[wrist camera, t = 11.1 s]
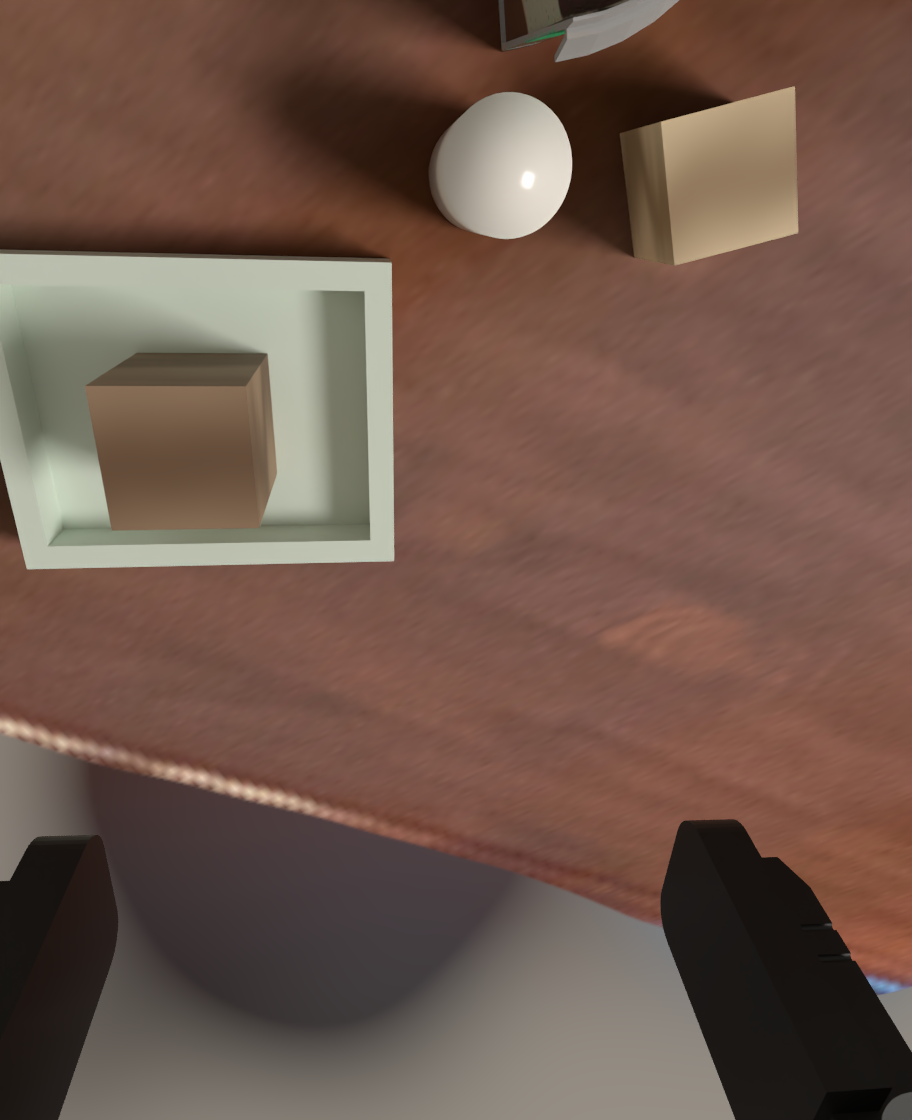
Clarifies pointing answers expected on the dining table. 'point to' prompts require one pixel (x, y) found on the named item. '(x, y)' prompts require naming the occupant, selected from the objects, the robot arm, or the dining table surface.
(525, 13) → the food container
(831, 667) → the dining table surface
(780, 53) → the dining table surface
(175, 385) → the walnut block
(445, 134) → the ceramic shaker
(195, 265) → the tray
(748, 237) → the oak cube
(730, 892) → the robot arm
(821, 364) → the dining table surface
